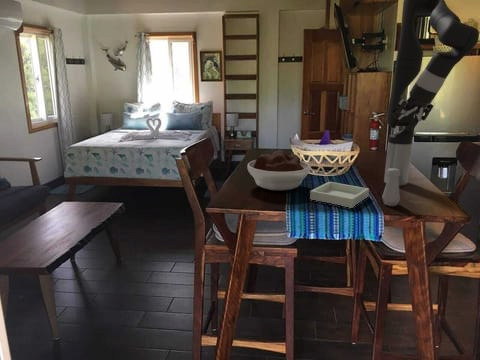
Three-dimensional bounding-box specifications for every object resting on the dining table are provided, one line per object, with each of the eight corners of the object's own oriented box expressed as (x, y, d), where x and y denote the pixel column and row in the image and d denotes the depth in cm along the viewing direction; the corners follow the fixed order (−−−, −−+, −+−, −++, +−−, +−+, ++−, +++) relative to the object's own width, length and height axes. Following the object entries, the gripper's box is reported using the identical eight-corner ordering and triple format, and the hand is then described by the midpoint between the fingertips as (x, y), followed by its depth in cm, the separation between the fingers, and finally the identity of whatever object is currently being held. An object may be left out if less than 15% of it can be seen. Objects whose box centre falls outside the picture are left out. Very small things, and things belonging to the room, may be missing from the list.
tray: (328, 190, 160) (329, 181, 159) (368, 197, 151) (369, 188, 150) (309, 200, 148) (310, 190, 147) (351, 208, 139) (352, 199, 138)
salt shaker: (400, 207, 140) (404, 171, 137) (382, 206, 141) (386, 170, 138) (397, 202, 146) (401, 167, 142) (380, 201, 147) (384, 166, 143)
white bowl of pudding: (318, 194, 154) (321, 156, 150) (255, 198, 149) (255, 158, 145) (297, 178, 178) (298, 144, 174) (241, 180, 173) (241, 146, 169)
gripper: (435, 82, 135) (408, 123, 144) (404, 77, 129) (379, 120, 138) (450, 94, 130) (422, 135, 139) (419, 89, 123) (392, 132, 133)
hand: (400, 128), depth 139 cm, fingers open, 8 cm apart
